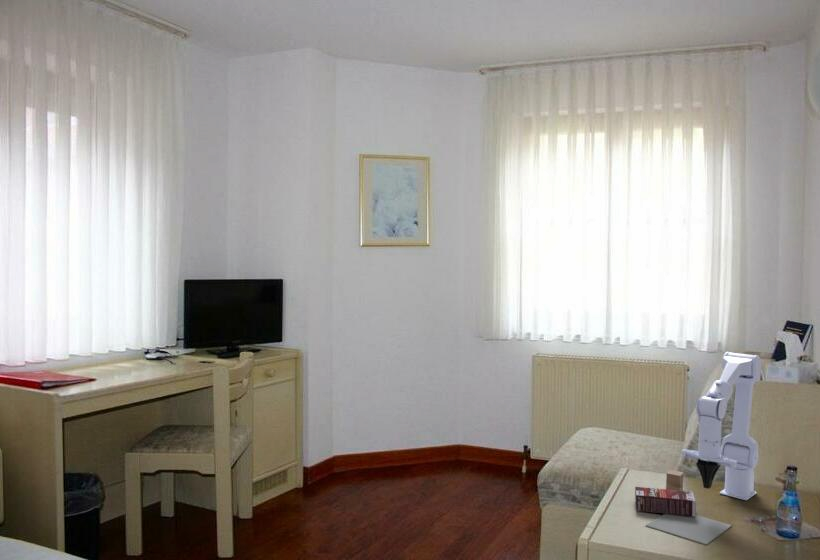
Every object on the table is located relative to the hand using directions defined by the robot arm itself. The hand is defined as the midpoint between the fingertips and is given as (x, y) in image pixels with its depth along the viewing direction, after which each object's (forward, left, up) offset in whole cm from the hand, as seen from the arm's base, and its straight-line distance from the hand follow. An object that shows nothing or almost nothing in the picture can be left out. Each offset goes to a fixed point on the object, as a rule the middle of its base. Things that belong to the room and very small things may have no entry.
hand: (707, 487), depth 192 cm
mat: (+12, 0, -8) cm, 14 cm away
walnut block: (-9, -13, -8) cm, 18 cm away
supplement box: (+2, -3, -5) cm, 6 cm away
